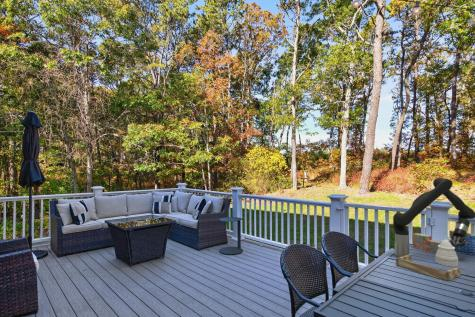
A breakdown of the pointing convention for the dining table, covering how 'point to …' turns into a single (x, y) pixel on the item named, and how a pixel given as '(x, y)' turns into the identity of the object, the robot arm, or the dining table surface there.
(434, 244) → the stack of blocks
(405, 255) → the robot arm
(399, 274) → the dining table surface
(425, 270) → the oak bay
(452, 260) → the honey pot
